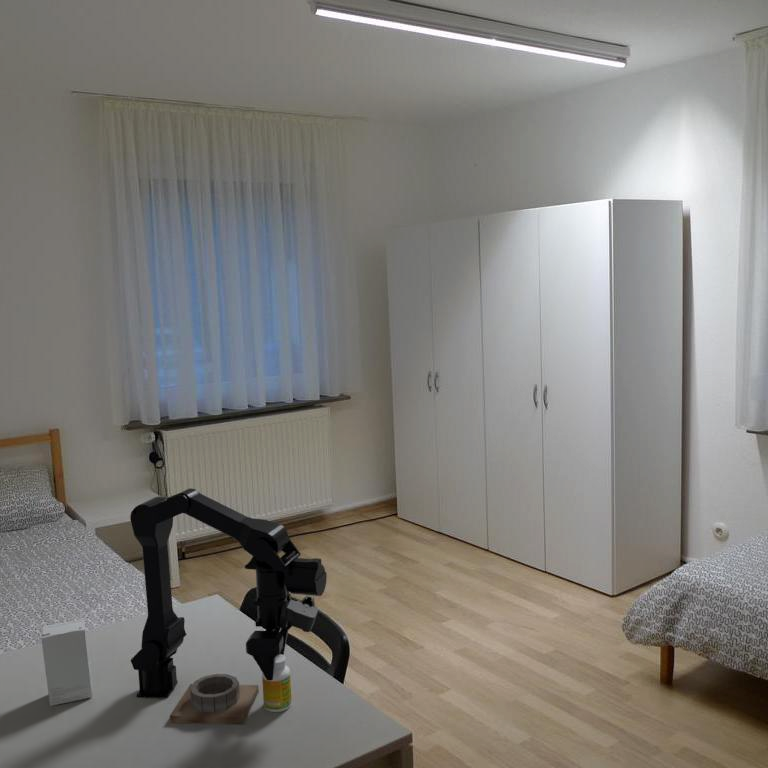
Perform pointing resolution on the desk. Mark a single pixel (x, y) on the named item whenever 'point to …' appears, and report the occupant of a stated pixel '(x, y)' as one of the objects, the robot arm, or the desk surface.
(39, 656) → the desk surface
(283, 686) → the supplement bottle
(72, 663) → the skincare box
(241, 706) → the collar board
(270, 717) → the desk surface
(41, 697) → the desk surface
